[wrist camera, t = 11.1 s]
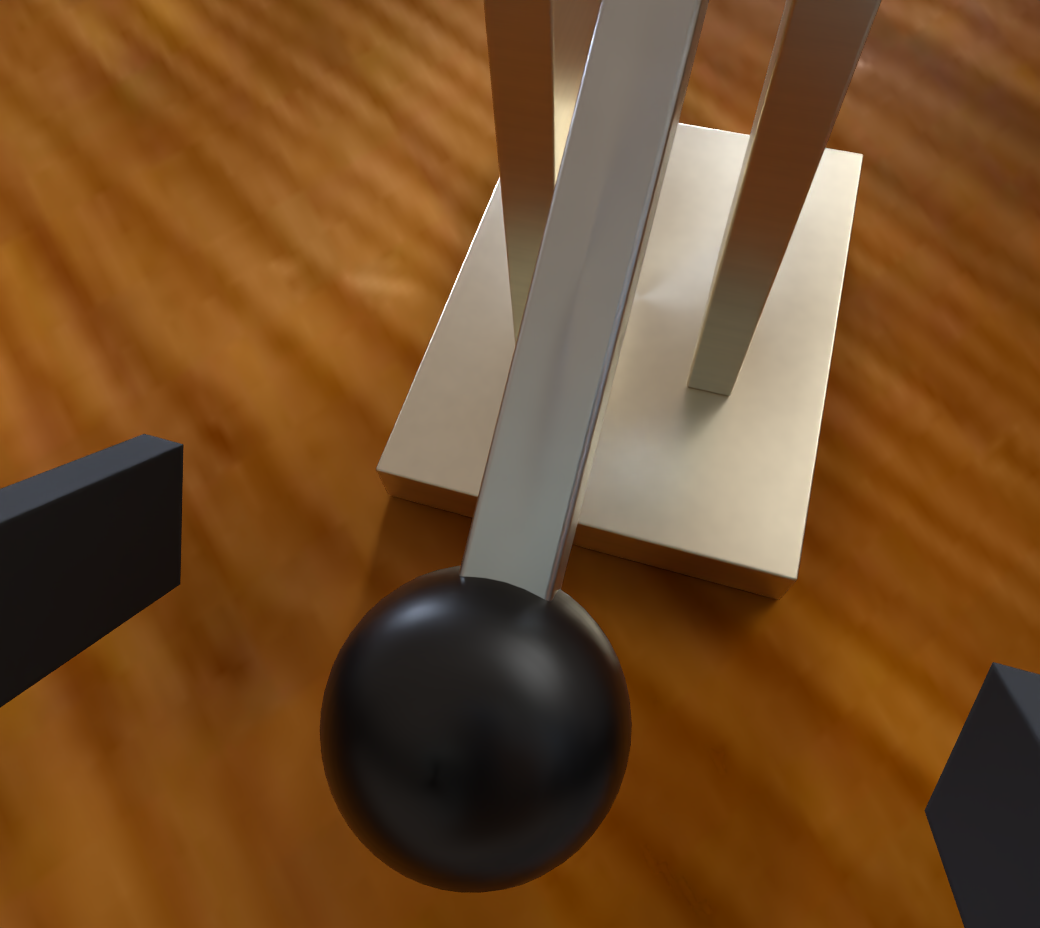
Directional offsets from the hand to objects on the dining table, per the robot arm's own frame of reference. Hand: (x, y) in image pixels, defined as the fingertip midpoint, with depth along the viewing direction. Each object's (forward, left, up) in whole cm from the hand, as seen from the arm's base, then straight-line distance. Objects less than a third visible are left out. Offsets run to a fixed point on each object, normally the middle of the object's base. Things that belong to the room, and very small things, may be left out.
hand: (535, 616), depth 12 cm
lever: (+3, -2, +4) cm, 5 cm away
